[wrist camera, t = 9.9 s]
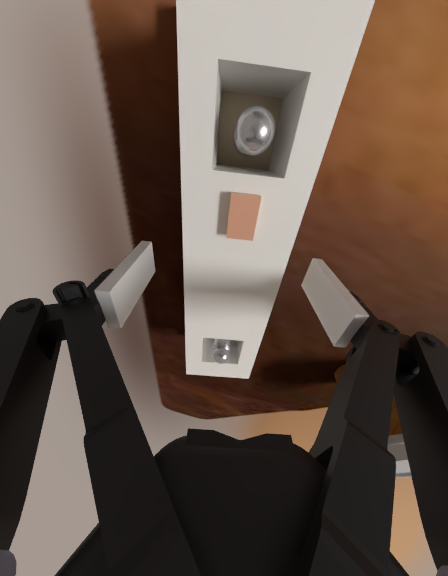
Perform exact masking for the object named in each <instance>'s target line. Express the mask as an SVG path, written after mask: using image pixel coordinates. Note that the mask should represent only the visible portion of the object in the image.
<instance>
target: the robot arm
mask: <svg viewBox="0 0 448 576" xmlns="http://www.w3.org/2000/svg"><path fill="white" fill-rule="evenodd" d="M154 273H155V264H154V256H153V248H152V242H150V241H141V242H140V243H139V244H138V245H137V246H136V247H135V248H134V250H133V251H132V252H131V253H130V254H129V255H128V256H127V257H126V258H125V259H124V260H123V261H122V262H121V263H120V264H119V266H117V267H116V269H108V270H107V271H105V272H102V273H101V274H100V275H99V276H98V278H96V279H95V280H94V282H92V283H91V284H90V285H89V286H88V287H87V288H86V286H85V284H84V283H83V282H81V281H67V282H64V283H61V284H60V285H58V286H56V287H55V288H54V289H53V294H54V296H55V298H56V299H57V301H58V303H59V304H50V305H44V304H43V302H42V301H41V300H40V299H37V298H28V299H24V300H20V301H18V302H15V303H14V304H12V305H10V306H9V307H8V308H7V310H6V311H5V313H4V314H3V316H2V318H1V319H0V576H15V574H16V560H15V557H14V554H12V553H11V552H10V551H9V548H10V546H11V543H12V540H13V538H14V535H15V532H16V529H17V527H18V524H19V521H20V517H21V513H22V510H23V506H24V502H25V499H26V495H27V490H28V486H29V482H30V477H31V473H32V469H33V464H34V460H35V455H36V451H37V446H38V442H39V438H40V434H41V429H42V425H43V420H44V416H45V412H46V407H47V403H48V398H49V394H50V390H51V385H52V381H53V376H54V372H55V368H56V363H57V359H58V355H59V350H60V346H61V341H62V340H67V343H68V348H69V352H70V357H71V362H72V367H73V372H74V376H75V381H76V386H77V390H78V395H79V399H80V405H81V409H82V414H83V419H84V423H85V429H86V434H85V436H84V447H85V453H86V458H87V463H88V468H89V473H90V478H91V483H92V489H93V494H94V499H95V504H96V509H97V514H98V519H99V523H98V524H97V526H96V527H95V528H94V529H93V530H92V531H91V533H90V534H89V535H88V536H87V537H86V539H85V540H84V541H83V542H82V543H81V545H80V546H79V547H78V548H77V549H76V551H75V552H74V553H73V554H72V555H71V557H70V558H69V559H68V560H67V561H66V563H65V564H64V565H63V566H62V567H61V569H60V570H59V571H58V572H57V573H56V575H55V576H409V575H408V574H407V572H406V571H405V570H404V569H403V567H402V566H401V565H400V563H399V562H398V561H397V560H396V558H395V557H394V556H393V555H392V553H391V552H390V538H391V526H392V514H393V501H394V487H395V475H396V459H395V457H394V455H393V454H391V453H390V452H389V451H388V447H387V446H388V437H389V429H390V420H391V411H392V403H393V394H394V398H395V403H396V407H397V412H398V416H399V421H400V426H401V430H402V435H403V439H404V444H405V448H406V453H407V457H408V462H409V467H410V471H411V476H412V480H413V485H414V489H415V494H416V498H417V503H418V507H419V512H420V517H421V520H422V524H423V528H424V531H425V536H426V539H427V542H428V545H429V548H430V551H431V554H432V557H433V560H434V563H435V565H436V568H437V570H438V571H437V575H436V576H448V349H447V347H446V346H445V345H444V343H443V342H441V341H440V340H439V339H438V338H436V337H435V336H433V335H430V334H428V333H424V332H417V333H415V334H414V335H413V336H412V337H410V336H407V335H404V334H400V332H399V330H398V329H397V328H396V327H394V326H393V325H392V324H390V323H388V322H386V321H383V320H378V319H377V318H376V317H375V316H374V315H373V313H372V312H371V311H370V310H369V309H368V308H367V307H366V305H365V304H364V303H362V301H361V300H360V299H359V297H358V296H356V295H355V294H354V293H352V292H350V291H348V290H347V289H346V287H345V286H344V285H343V284H342V283H341V281H340V280H339V279H338V278H337V277H336V276H335V274H334V273H333V272H332V271H331V270H330V268H329V267H328V266H327V265H326V264H325V263H324V261H323V260H322V259H314V258H313V259H312V261H311V264H310V266H309V268H308V271H307V273H306V276H305V278H304V280H303V283H302V285H301V286H302V288H303V290H304V291H305V293H306V295H307V297H308V299H309V301H310V303H311V305H312V306H313V308H314V310H315V312H316V314H317V316H318V318H319V320H320V321H321V323H322V325H323V327H324V329H325V331H326V333H327V335H328V336H329V338H330V340H331V342H332V344H333V346H335V347H346V346H347V345H348V344H349V342H350V341H351V342H352V344H353V345H354V346H353V348H352V349H351V350H350V352H349V353H348V354H347V355H346V357H345V358H347V361H346V364H345V366H344V369H343V371H342V374H341V376H340V379H339V382H338V384H337V387H336V389H335V392H334V394H333V397H332V400H331V402H330V405H329V407H328V410H327V413H326V415H325V418H324V420H323V423H322V426H321V428H320V430H319V433H318V436H317V438H316V441H315V443H314V445H313V446H312V448H311V449H310V451H309V453H308V452H307V451H305V450H304V449H302V448H301V447H299V446H297V445H295V444H293V443H292V438H291V435H282V434H263V435H260V436H256V437H252V438H248V439H245V440H237V439H235V438H232V437H230V436H227V435H225V434H222V433H219V432H217V431H214V430H202V429H188V433H187V436H183V437H180V438H178V439H176V440H174V441H172V442H170V443H169V444H167V445H166V446H165V447H163V448H162V449H161V450H160V451H159V452H158V453H157V454H156V455H155V456H154V457H153V454H152V452H151V449H150V446H149V444H148V442H147V439H146V436H145V434H144V431H143V429H142V426H141V424H140V422H139V419H138V416H137V414H136V411H135V409H134V406H133V404H132V401H131V399H130V396H129V394H128V391H127V389H126V386H125V384H124V381H123V379H122V376H121V374H120V371H119V369H118V366H117V364H116V361H115V359H114V356H113V353H112V351H111V348H110V346H109V343H108V341H107V338H106V336H105V333H104V331H103V328H102V325H103V323H104V322H105V321H106V323H107V326H108V328H122V326H123V324H124V323H125V321H126V319H127V318H128V316H129V314H130V313H131V311H132V309H133V308H134V306H135V304H136V303H137V301H138V299H139V298H140V296H141V295H142V293H143V291H144V290H145V288H146V286H147V285H148V283H149V281H150V280H151V278H152V276H153V275H154Z"/></svg>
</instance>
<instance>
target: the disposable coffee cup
mask: <svg viewBox="0 0 448 576" xmlns="http://www.w3.org/2000/svg"><path fill="white" fill-rule="evenodd" d="M344 366H345V364H344V365H342V366H341V367H339V368H338V369H337V370H336V371H335V373H334V377H335V379H336V382H337V384H338V382H339V379H340V376H341V374H342V371H343V369H344ZM387 447H388V451H389V452H390V453H391V454H393V455H394V457H395V459H396V475H395V478H403V477H412V476H411V471H410V467H409V462H408V457H407V453H406V448H405V444H404V439H403V435H402V430H401V426H400V421H399V416H398V412H397V407H396V403H395V398H394V394H393V403H392V411H391V420H390V429H389V437H388V446H387Z"/></svg>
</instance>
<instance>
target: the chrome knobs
mask: <svg viewBox="0 0 448 576" xmlns="http://www.w3.org/2000/svg"><path fill="white" fill-rule="evenodd" d="M274 134H275V122H274V118H273V116H272V114H271V113H270V111H269V110H268V109H267V108H265V107H263V106H260V105H255V106H251V107H249V108H248V109H246V110H245V111H244V112H243V113H242V114H241V116H240V117H239V119H238V122H237V125H236V128H235V131H234V136H233V140H234V145H235V147H236V149H237V150H238V151H239V152H241V153H243V154H247V155H251V156H256V155H259V154H261V153H263V152H264V151H266V150H267V149H268V147H269V146H270V144H271V143H272V140H273V138H274ZM212 357H213V360H214V361H215V362H217V363H219V364H223V363H225V362H227V361H228V360H229V358H230V340H226V339H214V338H213V346H212Z"/></svg>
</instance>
